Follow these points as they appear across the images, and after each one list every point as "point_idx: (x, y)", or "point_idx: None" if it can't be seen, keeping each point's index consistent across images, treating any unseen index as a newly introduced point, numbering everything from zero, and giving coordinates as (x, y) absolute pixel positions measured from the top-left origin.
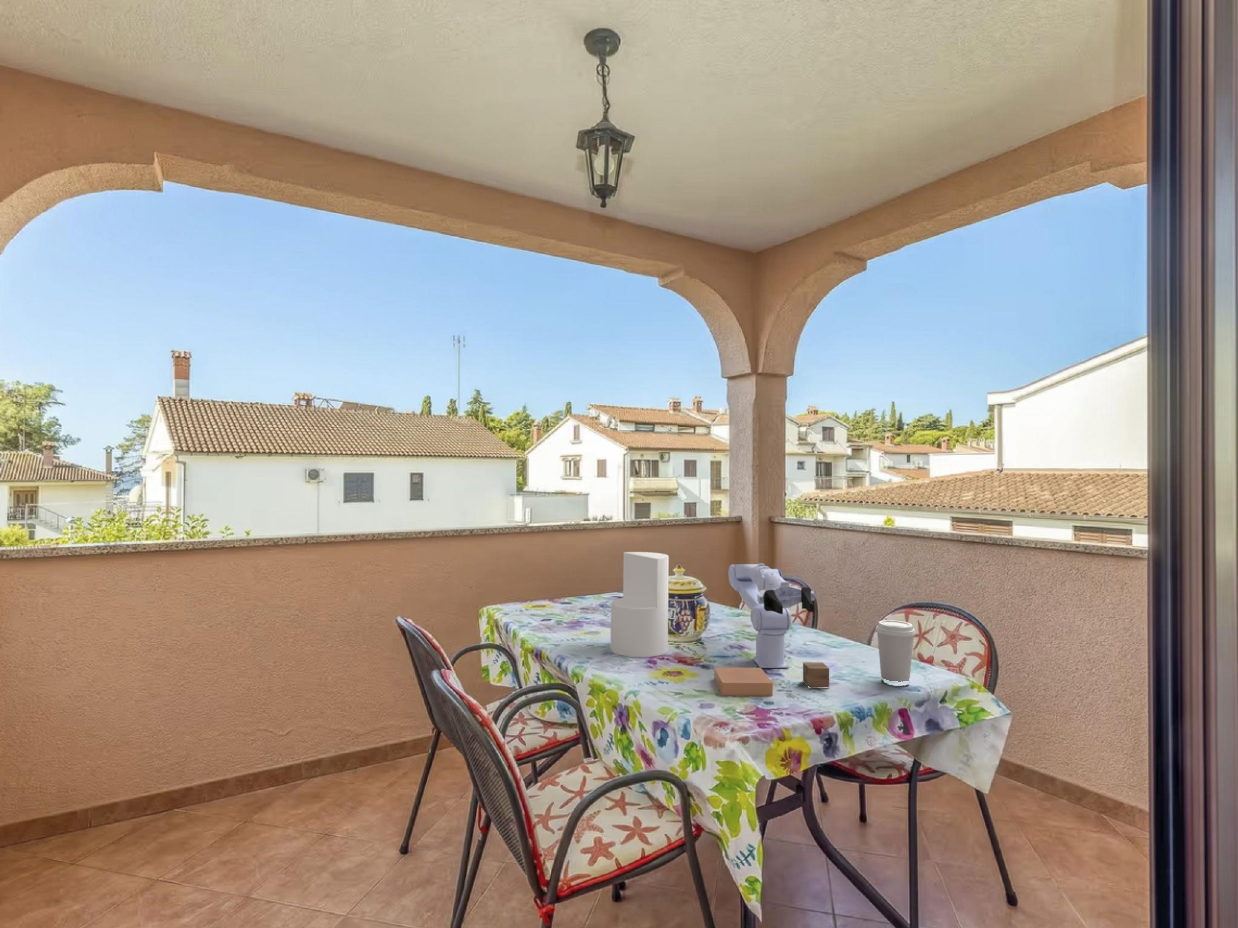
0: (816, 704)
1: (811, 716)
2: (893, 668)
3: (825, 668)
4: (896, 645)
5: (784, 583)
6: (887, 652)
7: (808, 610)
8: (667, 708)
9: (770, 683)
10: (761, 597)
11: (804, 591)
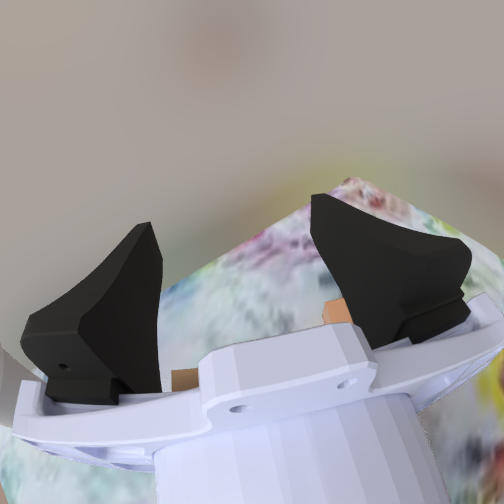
0: (239, 289)
1: (258, 243)
2: (45, 382)
3: (181, 370)
4: (9, 354)
5: (302, 341)
6: (29, 376)
7: (160, 284)
8: (451, 230)
9: (329, 301)
10: (473, 299)
11: (92, 298)
